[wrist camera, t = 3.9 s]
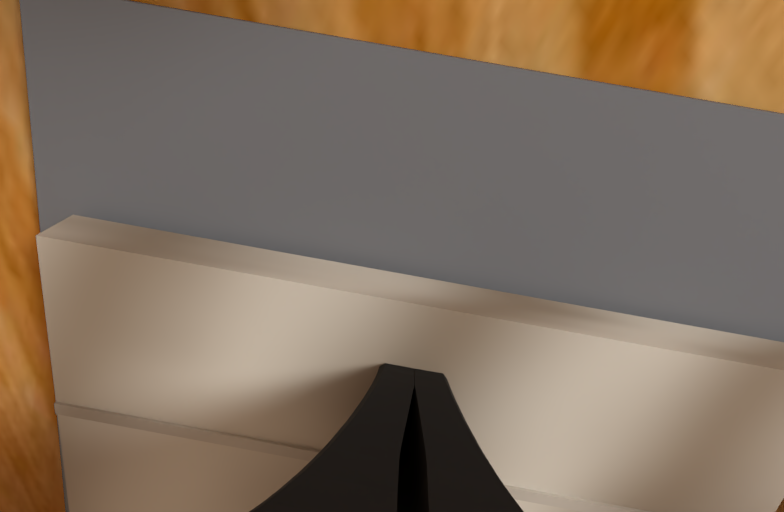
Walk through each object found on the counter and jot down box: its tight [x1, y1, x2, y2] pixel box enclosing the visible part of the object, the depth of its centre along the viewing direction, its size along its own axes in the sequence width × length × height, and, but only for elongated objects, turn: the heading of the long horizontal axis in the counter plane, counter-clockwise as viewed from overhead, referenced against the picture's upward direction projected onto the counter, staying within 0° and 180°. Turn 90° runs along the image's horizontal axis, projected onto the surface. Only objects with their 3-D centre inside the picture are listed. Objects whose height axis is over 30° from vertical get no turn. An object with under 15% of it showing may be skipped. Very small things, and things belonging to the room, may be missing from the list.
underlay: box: [20, 0, 784, 512], centre depth 15 cm, size 18×22×1 cm
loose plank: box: [36, 215, 784, 512], centre depth 13 cm, size 16×8×1 cm, turn 81°
